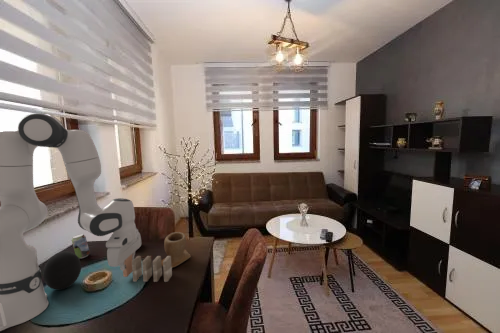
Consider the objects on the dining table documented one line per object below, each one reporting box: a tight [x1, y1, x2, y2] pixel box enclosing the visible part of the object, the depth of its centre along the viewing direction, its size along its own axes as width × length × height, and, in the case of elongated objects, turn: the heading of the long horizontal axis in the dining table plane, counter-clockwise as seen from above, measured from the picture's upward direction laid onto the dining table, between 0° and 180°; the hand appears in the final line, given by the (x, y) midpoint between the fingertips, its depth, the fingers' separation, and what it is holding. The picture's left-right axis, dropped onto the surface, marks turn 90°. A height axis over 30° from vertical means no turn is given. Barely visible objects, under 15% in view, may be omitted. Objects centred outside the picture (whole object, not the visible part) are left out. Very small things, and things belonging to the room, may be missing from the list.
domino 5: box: [162, 255, 173, 283], centre depth 105 cm, size 2×5×9 cm, turn 178°
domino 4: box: [151, 255, 163, 283], centre depth 106 cm, size 2×5×9 cm, turn 178°
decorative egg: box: [42, 250, 82, 291], centre depth 100 cm, size 12×12×15 cm
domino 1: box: [122, 254, 133, 278], centre depth 106 cm, size 2×5×9 cm, turn 177°
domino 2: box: [131, 255, 143, 282], centre depth 106 cm, size 2×5×9 cm, turn 178°
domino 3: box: [141, 255, 153, 282], centre depth 106 cm, size 2×5×9 cm, turn 178°
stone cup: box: [161, 231, 192, 269], centre depth 119 cm, size 15×12×15 cm
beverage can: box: [71, 233, 91, 260], centre depth 126 cm, size 6×7×12 cm
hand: (127, 265), depth 106 cm, fingers closed on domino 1, 5 cm apart
